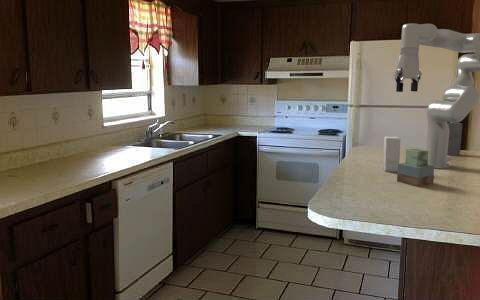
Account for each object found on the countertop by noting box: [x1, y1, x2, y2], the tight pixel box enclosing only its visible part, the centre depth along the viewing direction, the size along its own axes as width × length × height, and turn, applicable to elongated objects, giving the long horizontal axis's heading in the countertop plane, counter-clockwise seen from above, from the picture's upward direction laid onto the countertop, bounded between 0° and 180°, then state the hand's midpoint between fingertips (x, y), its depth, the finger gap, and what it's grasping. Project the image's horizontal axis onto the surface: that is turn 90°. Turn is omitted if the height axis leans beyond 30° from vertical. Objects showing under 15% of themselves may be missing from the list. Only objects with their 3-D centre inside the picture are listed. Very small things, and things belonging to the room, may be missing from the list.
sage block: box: [404, 148, 428, 167], centre depth 184 cm, size 6×6×6 cm
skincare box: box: [382, 135, 401, 173], centre depth 208 cm, size 8×7×16 cm
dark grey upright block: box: [447, 122, 463, 157], centre depth 248 cm, size 15×6×20 cm, turn 65°
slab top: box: [396, 162, 435, 178], centre depth 185 cm, size 10×10×4 cm
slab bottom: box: [396, 172, 435, 188], centre depth 186 cm, size 10×10×4 cm
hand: (406, 91), depth 202 cm, fingers open, 9 cm apart
